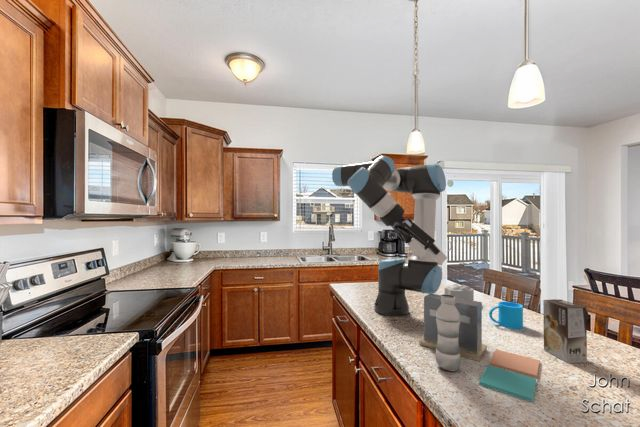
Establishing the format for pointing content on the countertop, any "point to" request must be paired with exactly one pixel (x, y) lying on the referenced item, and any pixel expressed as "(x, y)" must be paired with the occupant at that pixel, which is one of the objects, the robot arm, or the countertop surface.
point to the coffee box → (565, 330)
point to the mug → (509, 315)
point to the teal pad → (509, 382)
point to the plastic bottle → (448, 334)
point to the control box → (467, 330)
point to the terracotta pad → (515, 363)
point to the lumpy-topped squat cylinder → (460, 291)
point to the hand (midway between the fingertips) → (433, 257)
